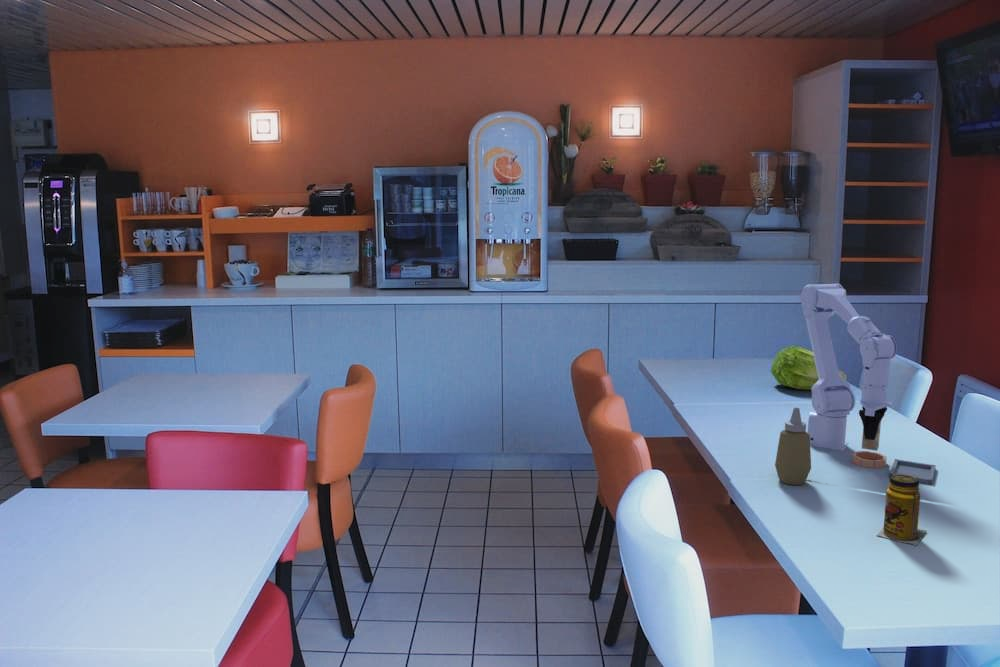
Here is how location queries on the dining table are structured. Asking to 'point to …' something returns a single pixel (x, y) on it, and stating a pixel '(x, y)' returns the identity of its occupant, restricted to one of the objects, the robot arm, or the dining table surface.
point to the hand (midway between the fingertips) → (870, 436)
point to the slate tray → (914, 470)
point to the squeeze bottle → (793, 451)
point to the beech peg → (871, 441)
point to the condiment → (902, 510)
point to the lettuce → (796, 368)
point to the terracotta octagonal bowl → (869, 459)
